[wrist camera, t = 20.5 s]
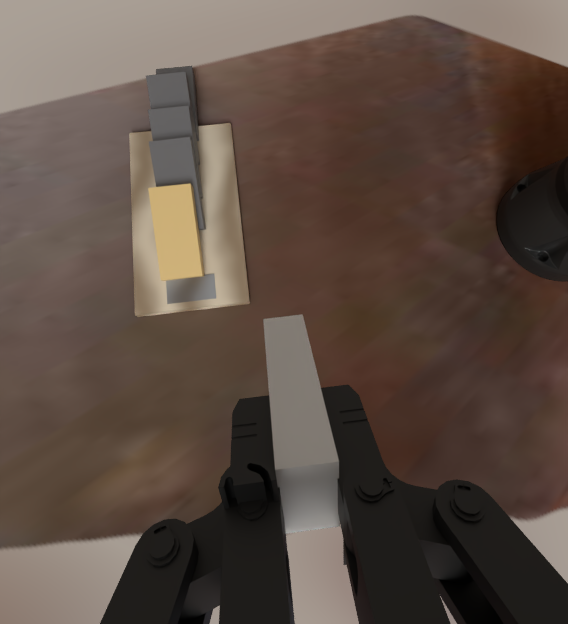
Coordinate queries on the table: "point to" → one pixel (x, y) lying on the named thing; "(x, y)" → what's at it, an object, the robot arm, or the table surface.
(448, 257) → the table surface
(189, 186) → the ochre domino
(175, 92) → the domino
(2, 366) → the table surface
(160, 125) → the domino
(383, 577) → the robot arm
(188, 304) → the birch board
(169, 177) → the domino
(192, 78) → the domino
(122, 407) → the table surface
